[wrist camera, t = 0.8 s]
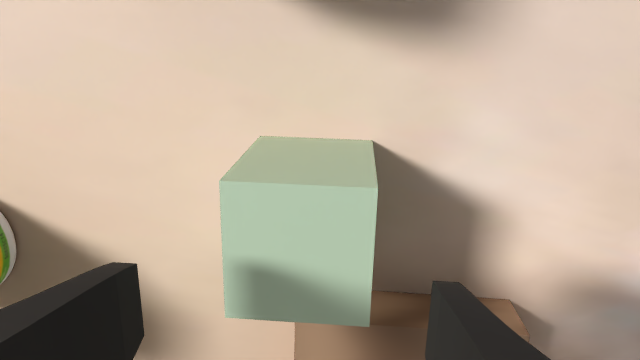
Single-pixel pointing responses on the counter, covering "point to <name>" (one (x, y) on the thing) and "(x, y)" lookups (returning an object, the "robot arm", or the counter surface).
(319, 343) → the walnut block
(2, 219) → the supplement bottle
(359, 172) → the sage block
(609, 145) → the counter surface
